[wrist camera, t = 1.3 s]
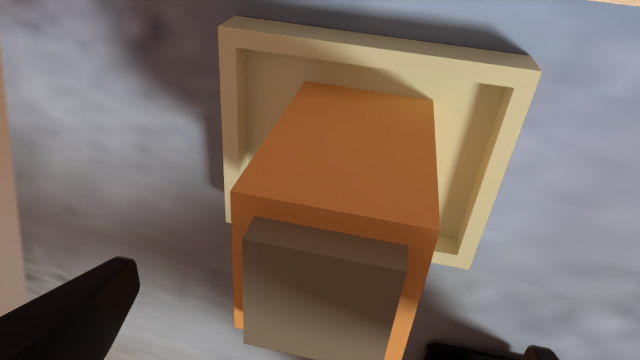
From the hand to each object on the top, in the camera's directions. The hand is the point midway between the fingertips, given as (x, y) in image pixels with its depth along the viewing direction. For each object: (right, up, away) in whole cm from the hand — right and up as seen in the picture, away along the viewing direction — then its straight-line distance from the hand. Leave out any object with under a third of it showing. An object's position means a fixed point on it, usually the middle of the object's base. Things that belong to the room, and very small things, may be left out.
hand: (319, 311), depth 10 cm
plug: (+2, +4, +7) cm, 8 cm away
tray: (+2, +4, +7) cm, 9 cm away
